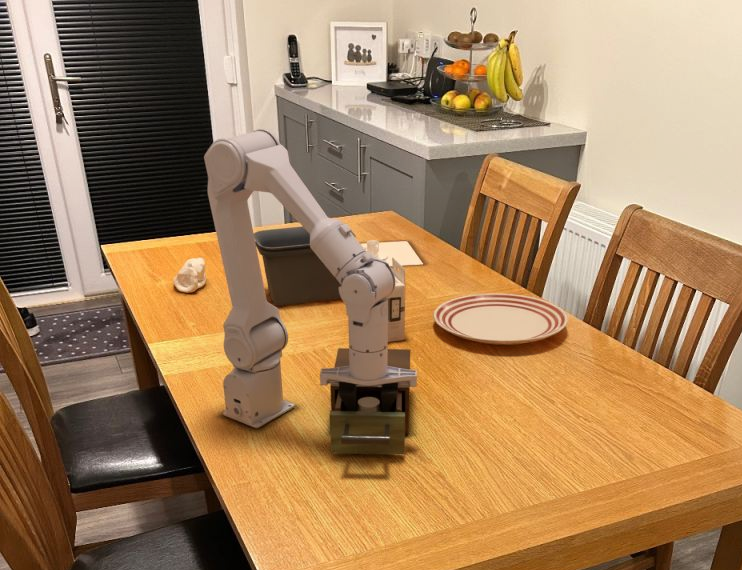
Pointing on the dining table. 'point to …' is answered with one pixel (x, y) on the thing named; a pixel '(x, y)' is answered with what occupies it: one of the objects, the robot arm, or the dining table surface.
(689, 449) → the dining table surface
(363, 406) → the salt shaker
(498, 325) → the dinner plate
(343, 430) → the drawer
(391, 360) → the cabinet
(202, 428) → the dining table surface
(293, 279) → the storage bin
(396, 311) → the ink box
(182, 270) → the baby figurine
